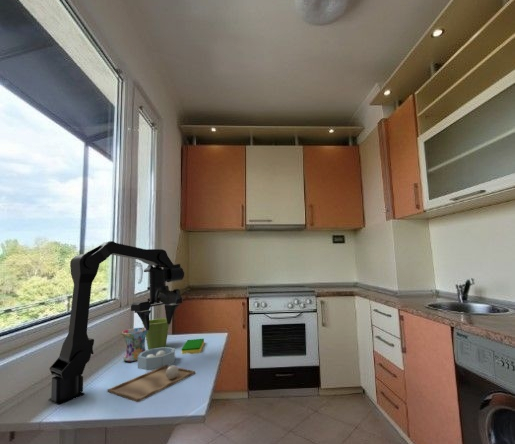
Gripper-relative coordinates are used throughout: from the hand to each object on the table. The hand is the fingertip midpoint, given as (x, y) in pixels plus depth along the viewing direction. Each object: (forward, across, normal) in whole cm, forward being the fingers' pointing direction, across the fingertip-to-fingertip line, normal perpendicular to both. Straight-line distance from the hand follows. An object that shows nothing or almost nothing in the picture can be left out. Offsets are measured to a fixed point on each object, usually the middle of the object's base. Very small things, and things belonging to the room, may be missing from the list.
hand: (158, 327), depth 104 cm
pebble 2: (+12, -8, -17) cm, 23 cm away
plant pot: (+13, +12, +18) cm, 25 cm away
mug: (+13, 0, +14) cm, 19 cm away
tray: (+12, -12, -14) cm, 22 cm away
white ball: (+11, -2, 0) cm, 11 cm away
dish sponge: (+13, +18, +1) cm, 22 cm away
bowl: (+12, -1, 0) cm, 13 cm away
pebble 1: (+10, -2, 0) cm, 11 cm away
